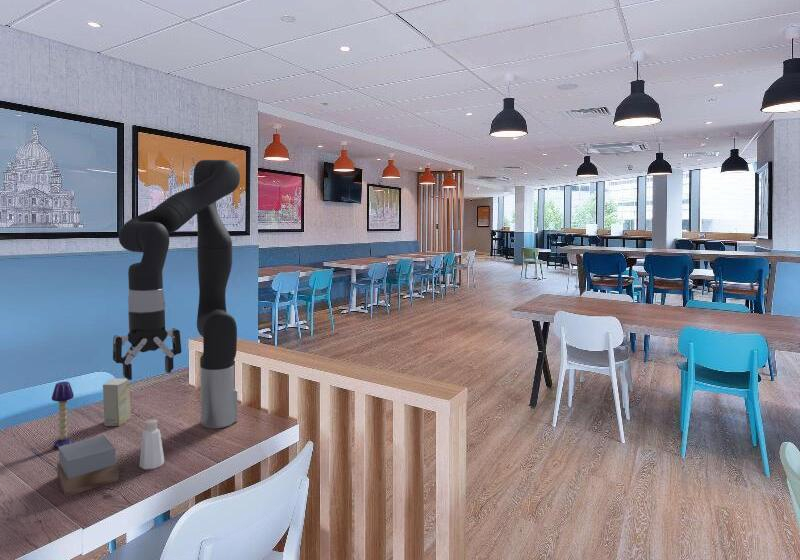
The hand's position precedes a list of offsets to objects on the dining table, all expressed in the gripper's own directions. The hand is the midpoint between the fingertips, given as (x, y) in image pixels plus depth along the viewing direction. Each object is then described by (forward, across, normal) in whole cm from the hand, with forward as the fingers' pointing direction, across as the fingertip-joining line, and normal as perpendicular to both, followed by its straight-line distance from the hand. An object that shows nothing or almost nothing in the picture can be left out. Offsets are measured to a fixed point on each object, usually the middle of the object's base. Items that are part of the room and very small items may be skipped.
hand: (149, 375), depth 116 cm
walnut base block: (+22, +13, -2) cm, 26 cm away
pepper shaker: (+22, 0, 0) cm, 22 cm away
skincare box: (+22, 0, -32) cm, 39 cm away
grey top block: (+18, +13, -2) cm, 23 cm away
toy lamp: (+22, +14, -24) cm, 36 cm away
